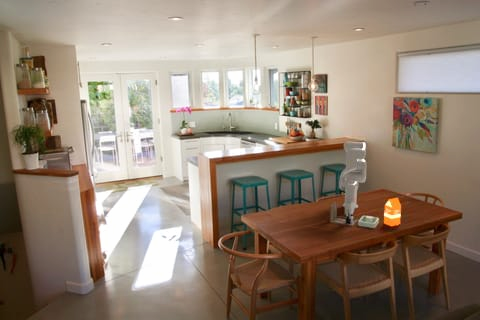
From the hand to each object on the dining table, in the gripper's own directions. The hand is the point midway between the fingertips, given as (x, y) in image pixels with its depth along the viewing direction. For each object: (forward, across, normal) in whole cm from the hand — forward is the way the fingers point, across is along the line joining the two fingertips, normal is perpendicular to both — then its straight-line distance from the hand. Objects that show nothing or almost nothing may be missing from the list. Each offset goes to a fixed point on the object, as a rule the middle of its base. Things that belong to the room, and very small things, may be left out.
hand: (349, 221), depth 301 cm
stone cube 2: (+1, 0, 0) cm, 1 cm away
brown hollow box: (+1, 0, -4) cm, 4 cm away
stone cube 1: (+1, -6, +14) cm, 15 cm away
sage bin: (+1, -4, +14) cm, 14 cm away
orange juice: (+1, -14, +28) cm, 32 cm away
